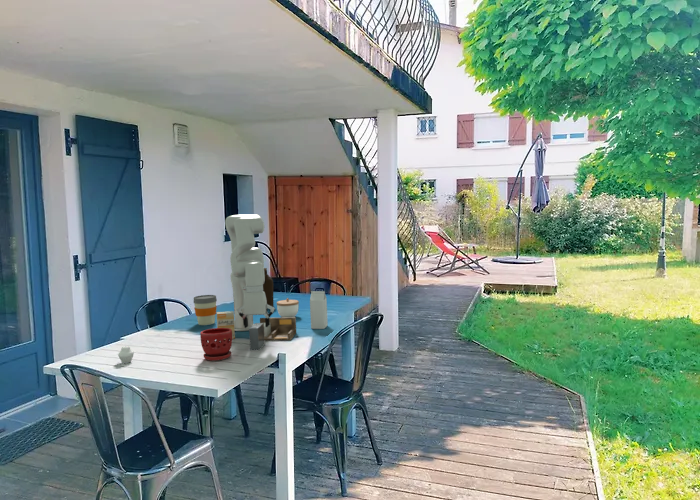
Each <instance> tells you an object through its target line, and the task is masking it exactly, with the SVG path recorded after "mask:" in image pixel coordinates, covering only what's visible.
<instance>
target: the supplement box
mask: <svg viewBox="0 0 700 500" xmlns="http://www.w3.org/2000/svg"><path fill="white" fill-rule="evenodd" d="M234 320H235V314H234V311H233V310H230V311H216V328H230V329H232V340H234V339H236V336H235V335H236V333H235V329H234ZM224 340H226V339H224Z"/></svg>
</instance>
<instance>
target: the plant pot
mask: <svg viewBox="0 0 700 500" xmlns="http://www.w3.org/2000/svg"><path fill="white" fill-rule="evenodd" d="M199 335H200V343H201V348H202V350H203V352H204V354H203V358H204V359H205V360H207V361H215V362H216V361H223V360H226V359H228V358H230V357H231V356H232V351H231V348H232V345H233V339H232V329H230V328H217V327H215V328H208V329H205V330H202V331H200V332H199ZM224 339H225V340H224Z"/></svg>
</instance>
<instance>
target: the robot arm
mask: <svg viewBox="0 0 700 500" xmlns="http://www.w3.org/2000/svg"><path fill="white" fill-rule="evenodd" d="M224 222H225V224H224V225H225V228H226V231H227V234H228V235H229V238H230V245H231V253H230V260H229V261H230V266H231V267H230V269H231V273H230V282H231V288H232V295H233V297H232V298H233V310H234V311H233V312H234V329H235V331H236V332H246V331H249V328H250V327H251V326H252V325H254V324H255V323H254V316H257V315H258V316H261V315H263V316H264V318H265V326H266V327H268V326H269V325H270V320H269V318H271V316H272V315H273V314H274V311H275V310H276V308H275V307H272V306H270V305H268V304H267V300H266V295H265V292H263V284H264V281H265V275H264V268H265V263H264V254H263V251H262V249H261V248H260V247H255V246H256V240H255V235H257V234H263V233H264V232H265V222H264V219H263V218H262V216H260V215H259V214H233V215H229V216H227V217H226V218H225V221H224ZM268 309H269V310H270V311H269V312H268Z"/></svg>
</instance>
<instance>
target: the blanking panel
mask: <svg viewBox="0 0 700 500" xmlns="http://www.w3.org/2000/svg"><path fill="white" fill-rule="evenodd" d="M253 324H254V325H252V326H251V327H250V328H249V330H248V331H249V332H248V333H249V334H248V335H249V350H250V351H260V350H261V349H262V348H263V347H264V346H265V342H266V341H265V339H264V323H260V322H255V323H253Z"/></svg>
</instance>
